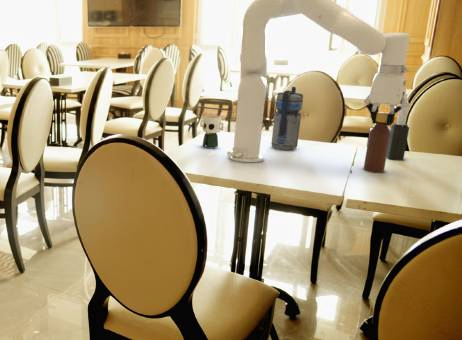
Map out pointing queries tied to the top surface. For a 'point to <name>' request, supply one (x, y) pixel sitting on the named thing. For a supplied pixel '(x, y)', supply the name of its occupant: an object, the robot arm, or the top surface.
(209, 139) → the toy figurine
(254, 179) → the top surface
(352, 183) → the top surface
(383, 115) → the cap
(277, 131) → the beverage bottle
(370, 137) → the sauce bottle
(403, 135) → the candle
